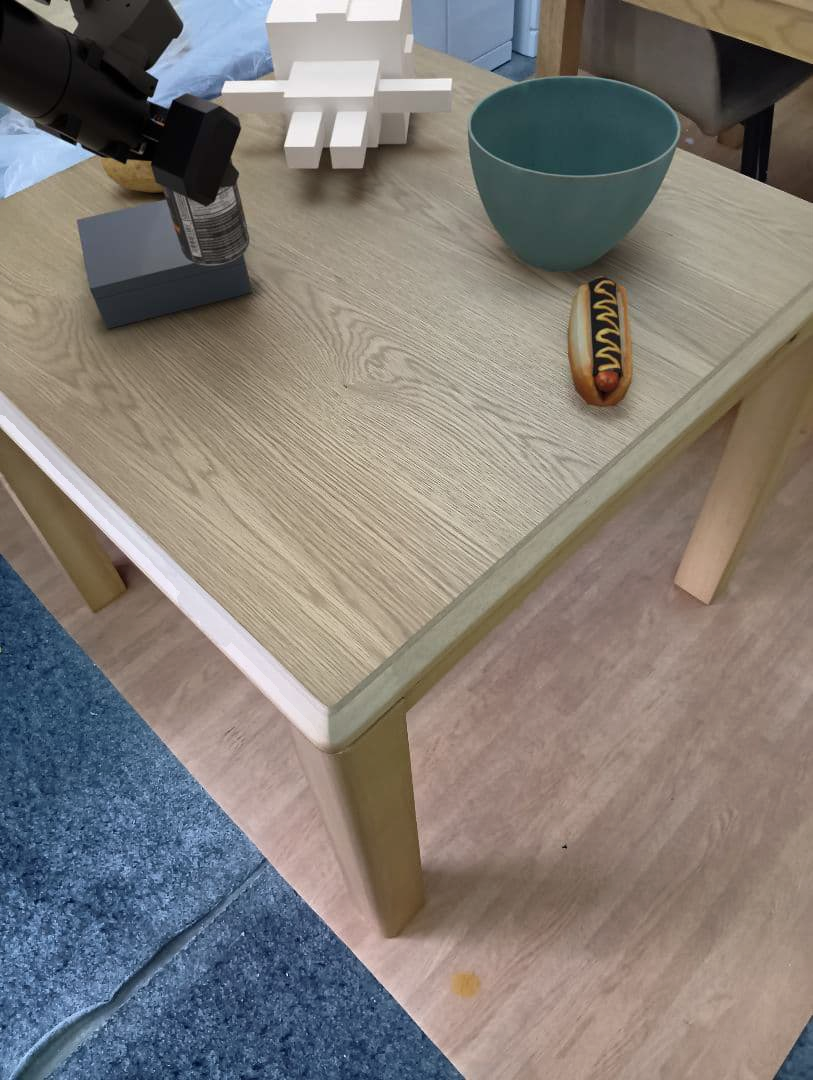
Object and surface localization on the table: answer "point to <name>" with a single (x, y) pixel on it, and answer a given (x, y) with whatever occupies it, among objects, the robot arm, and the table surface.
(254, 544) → the table surface
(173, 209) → the pill bottle
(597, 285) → the hot dog
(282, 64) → the white voxel figure
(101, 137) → the robot arm
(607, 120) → the teal bowl
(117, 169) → the potato
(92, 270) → the blue lidded box
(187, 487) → the table surface
